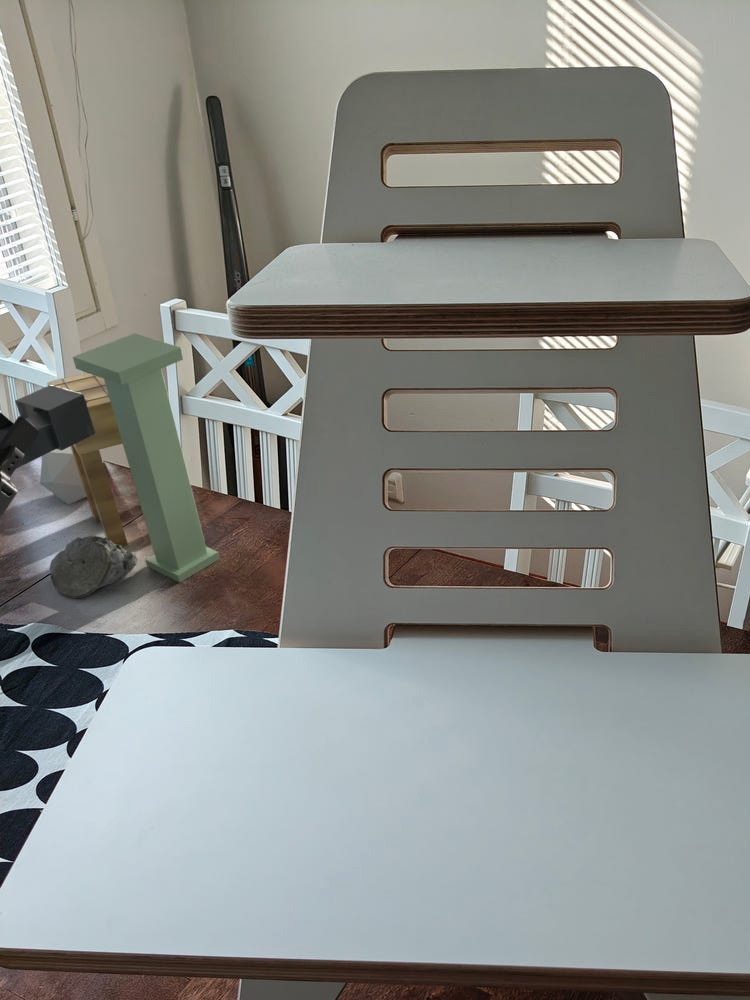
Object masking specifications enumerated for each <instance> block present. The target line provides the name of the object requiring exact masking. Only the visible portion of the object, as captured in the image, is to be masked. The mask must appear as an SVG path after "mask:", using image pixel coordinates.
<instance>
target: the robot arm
mask: <svg viewBox="0 0 750 1000" xmlns="http://www.w3.org/2000/svg"><path fill="white" fill-rule="evenodd" d="M11 425H12V427H11V428H10V429H9V431H8V432H7V434H6V435H5V437H4V438H3V439H2V441H1V442H0V519H1V518H2V517H3V515H4V514H5V512H6V511H7V509H8V508H9V506H10V505H11V503H12V502H13V500H14V499H15V497H16V496H17V494H18V491H19V490H18V488H16V484H15V483H14V482H13V481H12V480H11V477H12V475H13V474H14V473H15V471H16V470H17V469H18V468H17V467H18V465H19V464H20V462H21V461H22V460H23V458H24V455H25V453H26V452H27V450H28V449H29V447H30V446H31V444H32V443H33V442H34V440H35V439H36V437H37V436H38V434H39V433H40V431H38V430H37V429H36V428H35V427H34V426H33V425H32V424H30V423H29V422H28V421H27V420H26V419H25V418H24V417H21V416H20V415H19V416H18V417H17V418H16V420H15V421H14V422H13V421H12V420H10V419H9V418H8V417H7V416H6V415H4V413H2V412H1V411H0V430H2V429H4V428H6V427H9V426H11ZM16 468H17V469H16Z"/></svg>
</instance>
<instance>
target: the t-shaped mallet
mask: <svg viewBox="0 0 750 1000" xmlns="http://www.w3.org/2000/svg"><path fill="white" fill-rule="evenodd" d="M14 402H15V405H16V407H17V410H18V414H19V416H21V417H24V418H25V419H26V420H27V421H28V422H29V423H30V424H32V425H33V426H34V427H35V428H36V429H37V430H38V431H40V433H39V434H38V436H37V437H36V439H35V440H34V442H33V443H32V444H31V446H30V447H29V449H28V450H27V452H26V453H25V455H24V458H23V460H22V461H21V462H20V464H19V465H18V467H17V468H16V470H17V469H19V468H21V467H23V466H25V465H27V464H29V463H31V462H33V461H35V460H37V459H39V458H42V456H43V455H45V454H47V453H49V452H51V451H53V450H55V449H58V450H61V451H62V450H64V449H66V448H68V447H70V446H72V445H74V444H76V443H78V442H80V441H82V440H84V439H86V438H88V437H90V436H92V435H94V434H95V430H94V427H93V424H92V421H91V417H90V414H89V411H88V408H87V404H86V401H85V398H84V395H83V394H80V393H77V392H73V391H69V390H66V389H62V388H59V387H55V386H52V385H49V386H48V385H47V386H45V387H42V388H41V389H38V390H36V391H33V392H31V393H29V394H27V395H24V396H22V397H20V398H18V399H16V400H14ZM11 427H12V425H11V426H9V427H6V428H4V429H2V430H0V442H1V441H2V439H3V438H4V437H5V435H6V434H7V432H8V431H9V429H10V428H11Z"/></svg>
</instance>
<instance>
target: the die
mask: <svg viewBox="0 0 750 1000" xmlns="http://www.w3.org/2000/svg"><path fill="white" fill-rule="evenodd" d="M102 461H103V462H104V460H103V459H102ZM39 476H40V478H39V485H41V486H43V487H44V488H45V489H46V490H48V491H49V492H51V493H52V494H54V495H55V496H56V497H58V498H59V499H60V500H62V501H63V502H64V503H66V504H67V505H69V506H70V505H71V504H75V503H76V502H78V501H81V500H83V499H85V498H87V496H86V493H85V490H84V487H83V484H82V481H81V478H80V475H79V472H78V469H77V465H76V462H75V459H74V456H73V453H72V450H71V447H68V448H66V449H64V450H62V451H61V450H58V449H55V450H53V451H51V452H49V453H47V454H45V455H43V456H41V466H40V475H39Z"/></svg>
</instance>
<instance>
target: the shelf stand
mask: <svg viewBox="0 0 750 1000" xmlns="http://www.w3.org/2000/svg"><path fill="white" fill-rule="evenodd" d="M183 360H184V355H183V352H182V347H180V346H177V345H173V344H170V343H167V342H165V341H162V340H157V339H155V338H151V337H148V336H144V335H141V334H139V333H132V334H129V335H126V336H124V337H121V338H118V339H117V340H114V341H111V342H108V343H106V344H103V345H100V346H98V347H95V348H93V349H90V350H87V351H85V352H82V353H78V354H76V355H74V356H72V361H73V363H74V366H75V369H76V370H78V371H81V372H84V373H89V374H92V375H95V376H98V377H101V378H103V379H104V381H105V384H106V388H107V391H108V395H109V398H110V402H111V405H112V409H113V412H114V415H115V419H116V422H117V426H118V429H119V433H120V436H121V440H122V443H123V444H122V446H123V447H122V448H123V449H124V453H125V456H126V460H127V463H128V467H129V470H130V474H131V477H132V481H133V485H134V488H135V492H136V494H137V495H136V496H137V499H138V502H139V505H140V508H141V512H142V516H143V519H144V523H145V526H146V530H147V532H148V536H149V540H150V543H151V547H152V550H153V553H154V554H153V555H151V556H148V557H146V558H145V563H146V567H147V568H149V569H151V570H153V571H155V572H157V573H159V574H161V575H162V576H165V577H167V578H169V579H171V580H173V581H175V582H177V583H179V584H180V583H182V582H184V581H185V580H187V579H189V578H190V577H192V576H194V575H196V574H197V573H199V572H201V571H203V570H204V569H206V568H207V567H209V566H211V565H212V564H214V563H216V562H218V561H219V560H220V554H219V552H218V551H217V550H214V549H213V548H210V547H209V546H207V545H206V542H205V537H204V533H203V530H202V529H203V528H202V526H201V522H200V517H199V513H198V509H197V505H196V502H195V501H196V500H195V498H194V494H193V490H192V485H191V481H190V476H189V474H188V469H187V466H186V462H185V457H184V453H183V450H182V446H181V441H180V438H179V433H178V430H177V429H178V428H177V426H176V421H175V417H174V413H173V408H172V406H171V402H170V397H169V393H168V389H167V386H166V381H165V378H164V374H163V369H165V368H166V367H169V366H171V365H174V364H176V363H178V362H180V361H183Z"/></svg>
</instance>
